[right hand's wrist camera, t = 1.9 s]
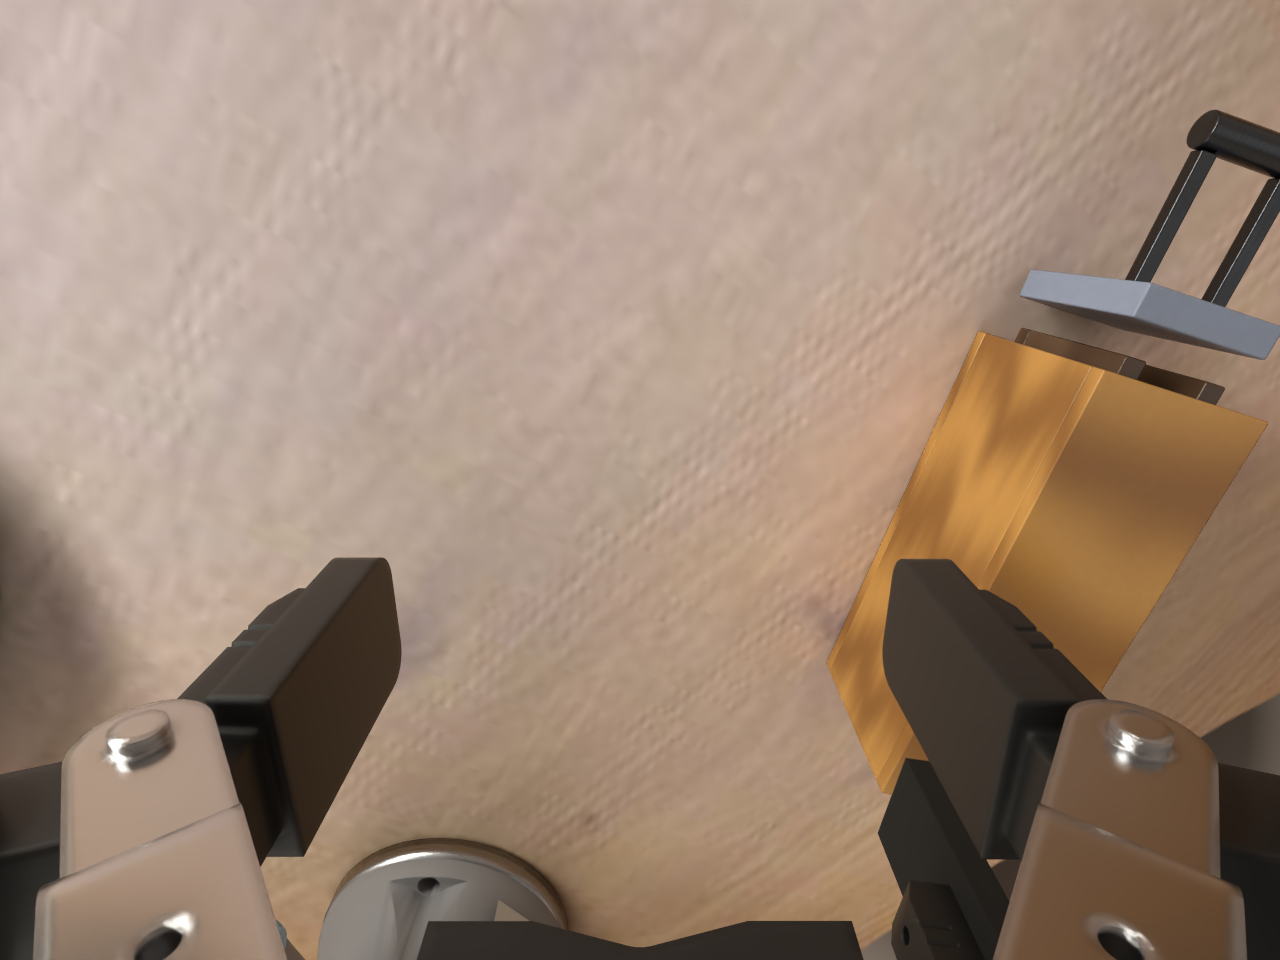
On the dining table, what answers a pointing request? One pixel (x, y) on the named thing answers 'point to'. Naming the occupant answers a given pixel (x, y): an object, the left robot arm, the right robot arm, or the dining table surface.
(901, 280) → the dining table surface
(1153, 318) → the drawer
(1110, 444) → the cabinet
